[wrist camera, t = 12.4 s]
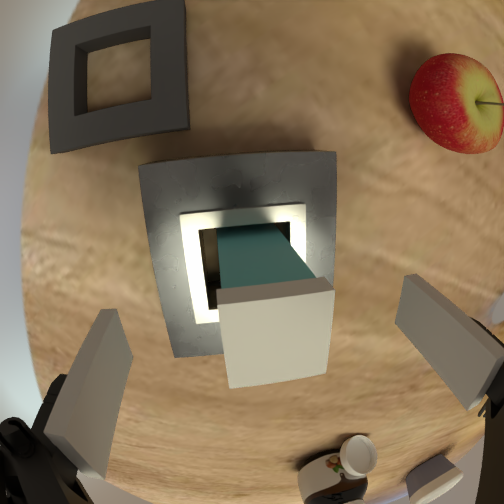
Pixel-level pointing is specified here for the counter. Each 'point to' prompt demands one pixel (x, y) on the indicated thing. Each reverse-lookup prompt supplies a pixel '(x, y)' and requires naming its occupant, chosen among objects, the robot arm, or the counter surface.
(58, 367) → the counter surface
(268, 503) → the counter surface
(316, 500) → the spread jar
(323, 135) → the counter surface
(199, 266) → the port
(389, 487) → the counter surface
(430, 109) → the apple
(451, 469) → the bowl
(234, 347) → the plug
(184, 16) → the dark grey square frame
